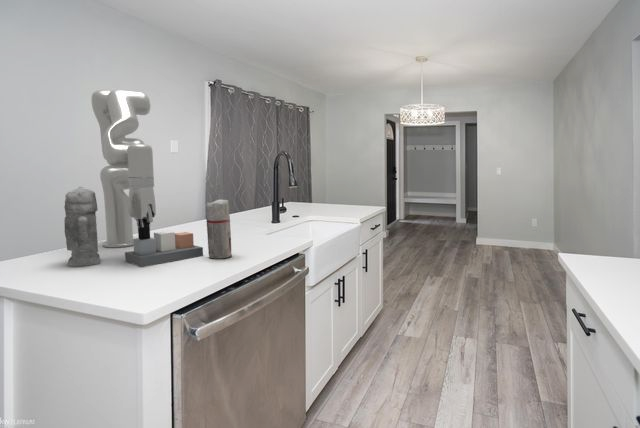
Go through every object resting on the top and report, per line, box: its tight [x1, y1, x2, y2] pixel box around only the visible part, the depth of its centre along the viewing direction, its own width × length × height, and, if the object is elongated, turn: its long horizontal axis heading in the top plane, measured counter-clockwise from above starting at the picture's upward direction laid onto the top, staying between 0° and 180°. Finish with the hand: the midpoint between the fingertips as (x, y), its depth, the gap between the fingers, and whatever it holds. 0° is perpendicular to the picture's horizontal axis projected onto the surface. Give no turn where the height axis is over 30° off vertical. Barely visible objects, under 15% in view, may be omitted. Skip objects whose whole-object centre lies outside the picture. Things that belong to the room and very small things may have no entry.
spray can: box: [205, 199, 233, 260], centre depth 146 cm, size 8×8×20 cm
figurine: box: [63, 186, 101, 267], centre depth 137 cm, size 10×14×25 cm
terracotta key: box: [175, 231, 194, 249], centre depth 149 cm, size 5×5×6 cm
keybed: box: [124, 244, 204, 268], centre depth 145 cm, size 12×22×3 cm, turn 138°
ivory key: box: [153, 230, 175, 252], centre depth 144 cm, size 5×5×6 cm
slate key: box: [133, 236, 156, 256], centre depth 139 cm, size 5×5×6 cm
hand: (144, 238), depth 139 cm, fingers closed
